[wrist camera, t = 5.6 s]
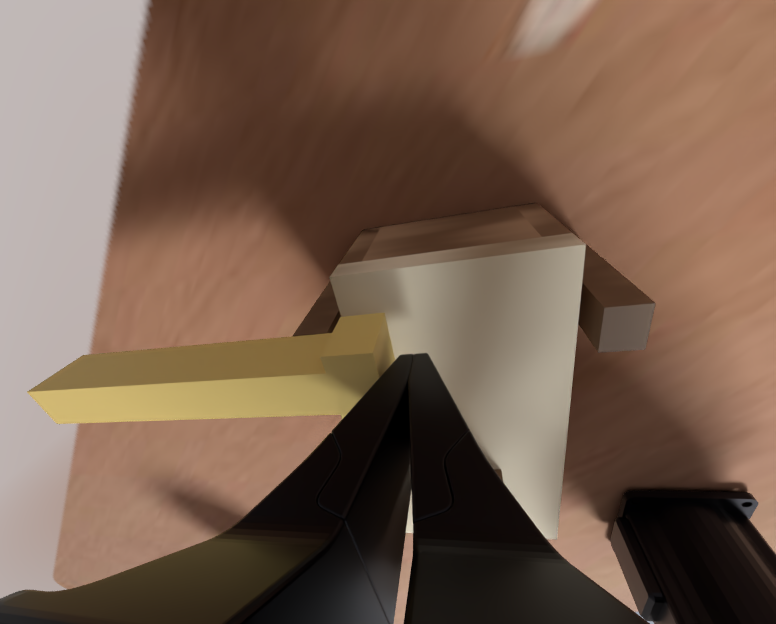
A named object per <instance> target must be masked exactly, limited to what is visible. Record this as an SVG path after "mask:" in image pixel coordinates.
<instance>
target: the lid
mask: <svg viewBox="0 0 776 624" xmlns="http://www.w3.org/2000/svg"><path fill="white" fill-rule="evenodd" d="M585 250H586V244H585V243H584V242H583V241H581V240H580V239H579V238H578V237H577V236H576V235H574V234H573V233H569V234H561V235H554V236H546V237H539V238H532V239H524V240H517V241H509V242H502V243H495V244H487V245H480V246H472V247H465V248H458V249H450V250H443V251H435V252H428V253H421V254H413V255H406V256H398V257H391V258H384V259H376V260H369V261H362V262H354V263H347V264H339V265H338V266H337V267H336V268H335V270H334V271H333V273H332V274H331V275H330V277H329V278H330V281H331V284H332V288H333V291H334V294H335V298H336V301H337V305H338V308H339V311H340V315H341V317H345V316H355V315H365V314H375V313H385V316H386V321H387V325H388V330H389V334H390V339H391V343H392V348H393V352H394V357H395V360H396V359H397V358H398V356H399V355H402V354H416V353H428V354H429V356H430V358H431V360H432V361H433V363H434V365H435V367H436V369H437V371H438V372H439V374H440V376H441V378H442V380H443V381H444V383H445V385H446V387H447V389H448V391H449V392H450V394H451V396H452V398H453V400H454V402H455V403H456V405H457V407H458V409H459V411H460V413H461V414H462V416H463V418H464V420H465V422H466V424H467V425H468V427H469V429H470V431H471V432H472V434H473V436H474V438H475V440H476V441H477V443H478V445H479V447H480V448H481V450H482V452H483V453H484V455H485V457H486V458H487V460H488V461H489V463H490V464H491V466H492V467H493V469H494V470H495V471H496V473H497V474H498V476H499V477H500V479H501V480H502V481H503V483H504V484H505V485H506V487H507V488H508V489H509V491H510V492H511V493H512V495H513V496H514V497H515V499H516V500H517V501H518V503H519V504H520V505H521V507H522V508H523V509H524V511H525V512H526V513H527V515H528V516H529V517H530V519H531V520H532V521H533V523H534V524H535V525H536V527H537V528H538V529H539V531H540V532H541V533H542V534H543V536H544V537H545V538H546V539H555V540H557V534H558V523H559V513H560V503H561V493H562V483H563V473H564V463H565V452H566V442H567V432H568V422H569V412H570V402H571V392H572V381H573V371H574V361H575V351H576V341H577V331H578V321H579V310H580V300H581V290H582V280H583V270H584V260H585ZM406 533H413V517H412V489H411V497H410V504H409V511H408V519H407V526H406Z"/></svg>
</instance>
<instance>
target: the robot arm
mask: <svg viewBox="0 0 776 624" xmlns="http://www.w3.org/2000/svg"><path fill="white" fill-rule="evenodd" d="M411 489H412V517H413V559H412V566H411V574H410V581H409V589H408V596H407V604H406V611H405V619H404V624H650V623H648V622H647V621H653V622H654V624H776V554H775V552H774V551H773V550H772V548H771V547H770V546H769V545H768V543H767V542H766V541H765V539H764V538H763V537H762V535H761V534H760V533H759V532H758V530H757V529H756V528H755V526H754V525H753V524H752V523H751V521H750V520H749V519H750V518H751V516H752V514H753V512H754V511H755V509H756V507H757V505H758V502H757V501H756V499H755V498H754V497H753V496H752V495H751V494H750V493H747V492H700V491H635V490H633V491H628V492H625V493H624V494H623V497H622V501H621V505H620V509H619V513H618V517H617V518H616V520H615V522H614V527H613V531H612V535H611V539H610V542H611V546H612V548H613V551H614V552H615V554H616V557H617V559H618V561H619V564H620V566H621V569H622V571H623V574H624V576H625V579H626V581H627V584H628V586H629V589H630V591H631V594H632V596H633V599H634V601H635V604H636V606H637V609H638V611H639V613H640V615H641V616H642V617H643V618H644V619H645V620H644V619H643V618H642V617H640V616H639V615H638V614H636V613H635V612H634V611H632V610H631V609H630V608H628V607H627V606H626V605H624V604H623V603H622V602H620V601H619V600H618V599H616V598H615V597H614V596H612V595H611V594H610V593H608V592H607V591H606V590H605V589H603V588H602V587H601V586H599V585H598V584H597V583H595V582H594V581H593V580H591V579H590V578H589V577H587V576H586V575H585V574H583V573H582V572H581V571H579V570H578V569H577V568H575V567H574V566H573V565H571V564H570V563H569V562H568V561H567V560H566V559H564V558H563V557H562V556H561V555H560V554H559V553H558V552H557V551H556V550H555V549H554V547H553V546H552V545H551V544H550V543H549V542H548V540H547V539H546V538H545V537H544V536H543V534H542V533H541V532H540V531H539V529H538V528H537V527H536V525H535V524H534V523H533V521H532V520H531V519H530V517H529V516H528V515H527V513H526V512H525V511H524V509H523V508H522V507H521V505H520V504H519V503H518V501H517V500H516V499H515V497H514V496H513V495H512V493H511V492H510V491H509V489H508V488H507V487H506V485H505V484H504V483H503V481H502V480H501V479H500V477H499V476H498V474H497V473H496V471H495V470H494V469H493V467H492V466H491V464H490V463H489V461H488V460H487V458H486V457H485V455H484V453H483V452H482V450H481V448H480V447H479V445H478V443H477V441H476V440H475V438H474V436H473V434H472V432H471V431H470V429H469V427H468V425H467V424H466V422H465V420H464V418H463V416H462V414H461V413H460V411H459V409H458V407H457V405H456V403H455V402H454V400H453V398H452V396H451V394H450V392H449V391H448V389H447V387H446V385H445V383H444V381H443V380H442V378H441V376H440V374H439V372H438V371H437V369H436V367H435V365H434V363H433V361H432V360H431V358H430V356H429V354H428V353H416V354H402V355H399V356H398V358H397V359H396V360H395V361H394V362H393V363H392V364H391V365H390V366H389V368H388V369H387V370H386V371H385V372H384V373H383V374H382V375H381V377H380V378H379V379H378V380H377V381H376V382H375V383H374V384H373V385H372V387H371V388H370V389H369V390H368V391H367V392H366V393H365V394H364V396H363V397H362V398H361V399H360V400H359V401H358V402H357V403H356V404H355V406H354V407H353V408H352V409H351V410H350V411H349V412H348V413H347V415H346V416H345V417H344V418H343V419H342V420H341V421H340V422H339V424H338V425H337V426H336V427H335V428H334V429H333V430H332V433H330V434H329V435H328V436H327V437H326V438H325V439H324V440H323V441H322V442H321V443H320V445H319V446H318V447H317V448H316V449H315V450H314V451H313V452H312V453H311V454H310V455H309V456H308V457H307V458H306V459H305V460H304V461H303V462H302V463H301V464H300V465H299V466H298V467H297V468H296V469H295V470H294V471H293V472H292V473H291V474H290V475H289V476H288V477H287V478H286V479H284V480H283V481H282V482H281V483H280V484H279V485H278V486H277V487H276V488H275V489H274V490H273V491H272V492H270V493H269V494H268V495H267V496H266V497H265V498H264V499H263V500H262V501H261V502H260V503H259V504H258V505H256V506H255V507H254V508H253V509H252V510H251V511H250V512H249V513H248V514H247V515H246V516H245V517H243V518H242V519H241V520H240V521H239V522H238V523H236V524H235V525H234V526H232V527H231V528H229V529H228V530H226V531H225V532H223V533H222V534H220V535H218V536H216V537H214V538H212V539H209V540H207V541H204V542H202V543H199V544H196V545H194V546H191V547H188V548H186V549H183V550H180V551H178V552H175V553H172V554H169V555H167V556H164V557H161V558H159V559H156V560H153V561H151V562H148V563H145V564H142V565H140V566H137V567H134V568H132V569H129V570H126V571H124V572H121V573H118V574H116V575H113V576H110V577H107V578H105V579H102V580H99V581H96V582H93V583H90V584H87V585H83V586H80V587H76V588H72V589H67V590H62V591H55V592H53V591H52V592H45V591H37V590H22V591H18V592H15V593H13V594H10V595H8V596H6V597H3V598H1V599H0V624H393V623H394V615H395V608H396V601H397V593H398V586H399V578H400V571H401V563H402V556H403V549H404V541H405V534H406V526H407V519H408V511H409V504H410V497H411Z"/></svg>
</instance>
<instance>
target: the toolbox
mask: <svg viewBox="0 0 776 624" xmlns="http://www.w3.org/2000/svg"><path fill="white" fill-rule="evenodd" d="M569 233H572V232H571V231H570V230H568V229H567V228H566V227H565V226H564V225H563V224H561V223H560V222H559V221H558V220H557V219H556V218H554V217H553V216H552V215H551V214H550V213H548V212H547V211H546V210H545V209H544V208H543V207H541V206H540V205H539V204H538V203H532V204H525V205H519V206H512V207H506V208H500V209H493V210H487V211H480V212H474V213H468V214H461V215H455V216H448V217H442V218H436V219H429V220H423V221H416V222H410V223H404V224H397V225H391V226H384V227H378V228H372V229H365V230H362V232H361V233H360V235H359V236H358V238H357V239H356V240H355V242H354V243H353V245H352V246H351V247H350V249H349V250H348V252H347V253H346V254H345V256H344V257H343V259H342V260H341V261H340V263H339V264H347V263H354V262H362V261H369V260H376V259H384V258H391V257H398V256H406V255H413V254H421V253H428V252H435V251H443V250H450V249H458V248H465V247H472V246H480V245H487V244H495V243H502V242H509V241H517V240H524V239H532V238H539V237H546V236H554V235H561V234H569ZM581 241H582V240H581ZM339 264H338V265H339ZM654 308H655V302H654V301H652V300H651V299H650V298H649V297H648V296H646V295H645V294H644V293H643V292H642V291H641V290H639V289H638V288H637V287H636V286H635V285H634V284H632V283H631V282H630V281H629V280H628V279H626V278H625V277H624V276H623V275H622V274H621V273H619V272H618V271H617V270H616V269H615V268H613V267H612V266H611V265H610V264H609V263H608V262H606V261H605V260H604V259H603V258H602V257H600V256H599V255H598V254H597V253H596V252H595V251H593V250H592V249H591V248H590V247H589V246H588V245H586V250H585V260H584V270H583V280H582V290H581V300H580V310H579V321H578V324H579V325H580V327H581V328H582V329H583V331H584V332H585V334H586V335H587V337H588V338H589V340H590V341H591V343H592V344H593V346H594V347H595V349H596V350H597V351H598V353H600V352H616V351H631V350H645V349H646V344H647V340H648V335H649V330H650V326H651V321H652V317H653V312H654ZM340 317H341V315H340V311H339V308H338V305H337V301H336V298H335V294H334V291H333V288H332V284H331V281H330V282H329V284H328V285H327V287H326V288H325V289H324V291H323V292H322V294H321V295H320V297H319V298H318V300H317V301H316V303H315V304H314V305H313V307H312V308H311V310H310V311H309V313H308V314H307V316H306V317H305V319H304V320H303V321H302V323H301V324H300V326H299V327H298V329H297V330H296V332H295V333H294V335H293V336H304V335H315V334H326V333H332V332H333V330H334V328H335V326H336V324H337V323H338V321H339V319H340Z"/></svg>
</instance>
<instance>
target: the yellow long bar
mask: <svg viewBox="0 0 776 624" xmlns="http://www.w3.org/2000/svg"><path fill="white" fill-rule="evenodd" d="M394 361H395V357H394V352H393V348H392V343H391V339H390V334H389V330H388V325H387V321H386V316H385V313H375V314H365V315H355V316H345V317H340V319H339V321H338V323H337V324H336V326H335V328H334V330H333V332H332V333H326V334H315V335H304V336H293V337H281V338H270V339H259V340H248V341H237V342H225V343H214V344H203V345H192V346H180V347H169V348H158V349H147V350H135V351H124V352H113V353H102V354H91V355H83V356H81V357H80V358H78V359H77V360H75V361H73V362H72V363H70V364H69V365H67V366H66V367H64V368H63V369H61V370H60V371H58V372H57V373H55V374H54V375H52V376H51V377H49V378H48V379H46V380H44V381H43V382H41V383H40V384H39V385H37V386H35V387H34V388H32V389H31V390H29V391H28V393H29V395H30V396H31V397H32V398H33V399H34V400H35V401H36V402H37V403H38V404H39V405H40V406H41V407H42V409H43V410H44V411H45V412H47V414H48V415H49V416H50V417H51V418H52V419H53V420H54V421H55V422H56V423H57V424H66V423H98V422H128V421H158V420H188V419H218V418H249V417H279V416H309V415H339V414H341V417H342V419H343V418H344V417H345V416H346V415H347V413H348V412H349V411H350V410H351V409H352V408H353V407H354V406H355V404H356V403H357V402H358V401H359V400H360V399H361V398H362V397H363V396H364V394H365V393H366V392H367V391H368V390H369V389H370V388H371V387H372V385H373V384H374V383H375V382H376V381H377V380H378V379H379V378H380V377H381V375H382V374H383V373H384V372H385V371H386V370H387V369H388V368H389V366H390V365H391V364H392V363H393V362H394Z"/></svg>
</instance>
